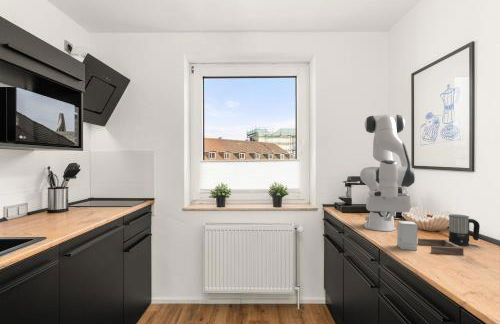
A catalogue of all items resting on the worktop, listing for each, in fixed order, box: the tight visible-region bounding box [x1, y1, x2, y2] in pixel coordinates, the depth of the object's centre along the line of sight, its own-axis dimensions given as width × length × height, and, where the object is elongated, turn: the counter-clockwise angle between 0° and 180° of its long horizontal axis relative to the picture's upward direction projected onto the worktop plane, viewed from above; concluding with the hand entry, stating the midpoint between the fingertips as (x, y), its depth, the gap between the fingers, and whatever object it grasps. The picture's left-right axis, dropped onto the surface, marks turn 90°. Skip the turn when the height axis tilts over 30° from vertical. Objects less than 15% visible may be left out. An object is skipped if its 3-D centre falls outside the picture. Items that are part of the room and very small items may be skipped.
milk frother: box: [448, 213, 480, 246], centre depth 168 cm, size 14×16×15 cm
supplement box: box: [396, 220, 418, 251], centre depth 154 cm, size 7×7×13 cm
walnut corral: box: [417, 237, 465, 256], centre depth 153 cm, size 16×14×3 cm
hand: (387, 220), depth 155 cm, fingers closed
